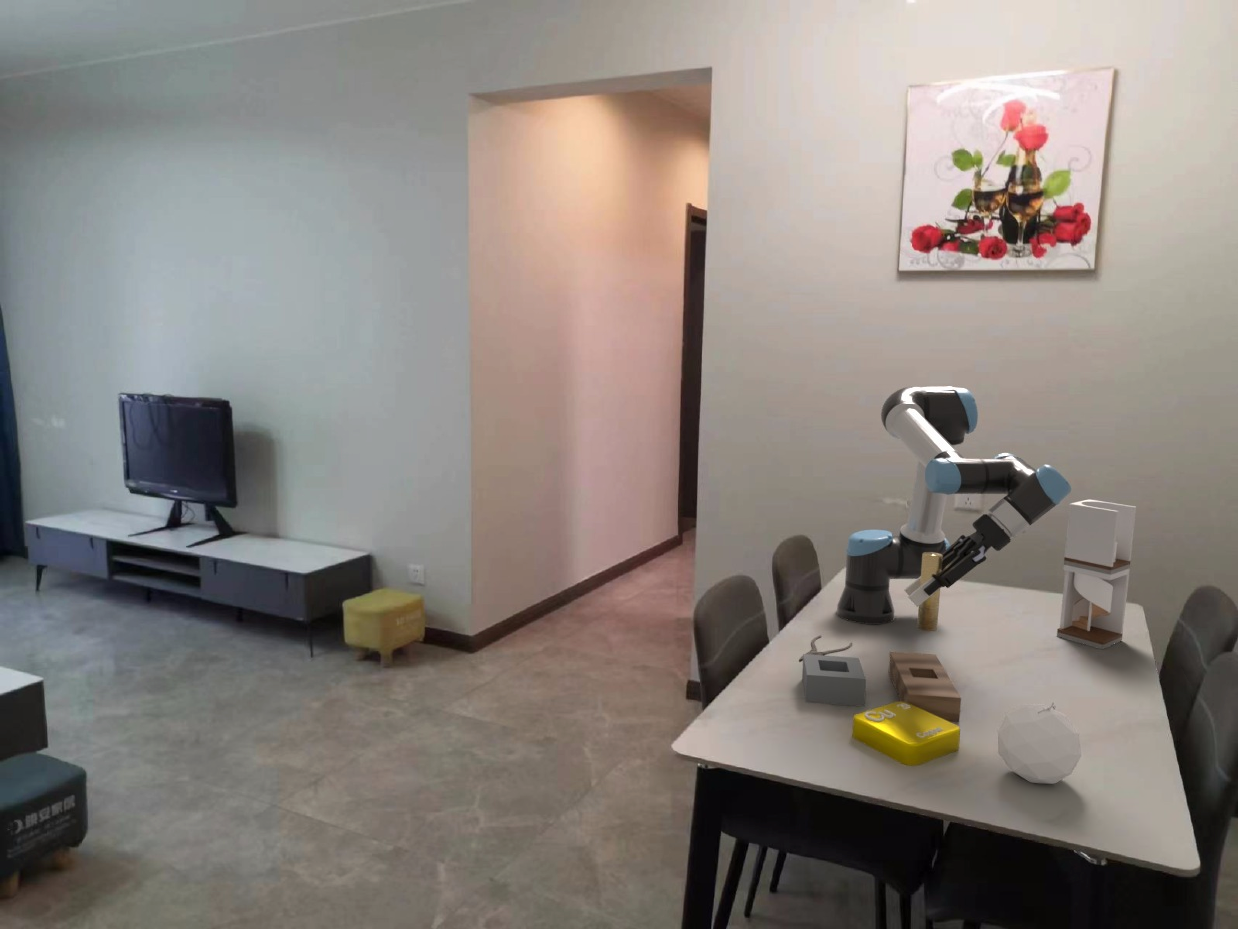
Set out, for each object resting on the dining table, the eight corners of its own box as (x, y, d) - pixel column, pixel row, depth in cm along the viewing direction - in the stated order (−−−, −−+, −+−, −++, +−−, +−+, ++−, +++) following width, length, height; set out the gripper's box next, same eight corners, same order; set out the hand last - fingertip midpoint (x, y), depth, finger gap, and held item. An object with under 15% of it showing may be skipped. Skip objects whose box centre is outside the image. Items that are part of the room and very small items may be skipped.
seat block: (802, 679, 195) (803, 654, 194) (857, 683, 194) (858, 657, 193) (805, 702, 184) (806, 674, 183) (864, 706, 182) (866, 679, 181)
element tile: (910, 769, 156) (911, 744, 156) (847, 736, 169) (848, 713, 168) (963, 749, 164) (965, 725, 164) (900, 719, 177) (901, 696, 176)
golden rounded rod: (915, 624, 188) (920, 551, 185) (934, 625, 187) (940, 552, 184) (919, 630, 184) (924, 556, 181) (938, 631, 183) (944, 557, 180)
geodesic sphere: (1015, 716, 165) (1006, 673, 157) (1096, 739, 156) (1090, 695, 148) (991, 782, 158) (980, 740, 150) (1074, 810, 149) (1066, 767, 141)
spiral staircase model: (1056, 636, 226) (1069, 503, 221) (1076, 628, 233) (1089, 499, 227) (1102, 649, 217) (1117, 511, 212) (1121, 640, 224) (1136, 506, 218)
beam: (888, 672, 200) (890, 651, 200) (934, 675, 199) (935, 654, 198) (907, 717, 177) (909, 694, 176) (959, 721, 175) (961, 698, 175)
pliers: (854, 640, 220) (839, 667, 202) (853, 643, 220) (839, 671, 202) (815, 634, 224) (797, 660, 206) (815, 637, 224) (797, 663, 206)
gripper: (1024, 549, 172) (930, 624, 177) (1000, 529, 188) (915, 598, 193) (998, 521, 171) (905, 598, 176) (976, 504, 188) (891, 574, 193)
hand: (910, 598), depth 185 cm, fingers closed on golden rounded rod, 4 cm apart
